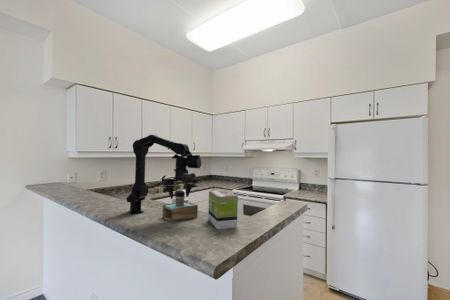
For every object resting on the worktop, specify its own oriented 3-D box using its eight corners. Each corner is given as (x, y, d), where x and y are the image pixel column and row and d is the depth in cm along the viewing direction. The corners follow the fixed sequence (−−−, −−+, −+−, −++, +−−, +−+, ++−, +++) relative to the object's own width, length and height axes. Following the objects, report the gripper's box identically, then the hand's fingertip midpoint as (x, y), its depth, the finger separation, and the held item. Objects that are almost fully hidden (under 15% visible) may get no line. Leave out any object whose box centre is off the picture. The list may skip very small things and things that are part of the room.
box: (162, 217, 105) (162, 204, 105) (185, 212, 114) (185, 201, 115) (173, 222, 97) (174, 208, 97) (197, 217, 107) (197, 205, 107)
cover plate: (164, 207, 105) (165, 197, 105) (184, 204, 113) (184, 195, 113) (173, 211, 98) (174, 200, 98) (194, 207, 107) (194, 197, 107)
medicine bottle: (175, 213, 112) (176, 191, 113) (171, 210, 118) (172, 190, 119) (187, 212, 116) (188, 191, 117) (183, 209, 122) (183, 189, 123)
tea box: (207, 220, 103) (208, 190, 104) (225, 218, 106) (226, 190, 107) (216, 230, 89) (217, 195, 89) (237, 227, 92) (238, 195, 93)
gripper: (173, 168, 94) (171, 202, 93) (204, 168, 107) (203, 198, 106) (161, 167, 102) (160, 198, 101) (192, 167, 115) (191, 195, 114)
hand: (179, 197), depth 106 cm, fingers open, 9 cm apart
